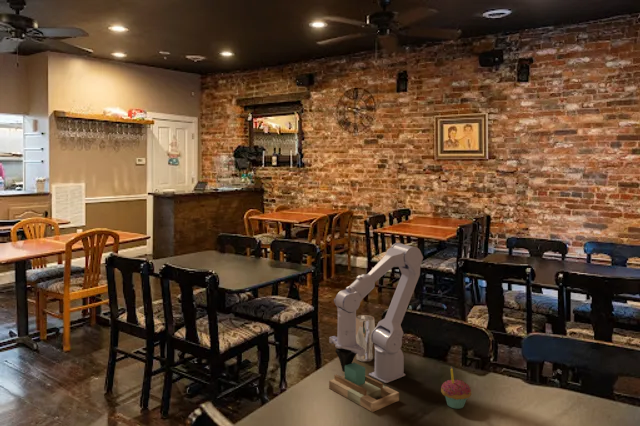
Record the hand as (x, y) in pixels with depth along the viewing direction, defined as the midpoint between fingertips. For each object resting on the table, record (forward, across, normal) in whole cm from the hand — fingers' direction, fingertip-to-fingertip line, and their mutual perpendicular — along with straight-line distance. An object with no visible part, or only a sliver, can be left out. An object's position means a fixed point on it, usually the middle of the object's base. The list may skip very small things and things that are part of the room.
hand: (346, 371), depth 160 cm
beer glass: (+5, -12, +19) cm, 23 cm away
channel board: (+5, +8, 0) cm, 9 cm away
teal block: (+2, +4, 0) cm, 5 cm away
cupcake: (+5, +29, +17) cm, 34 cm away
